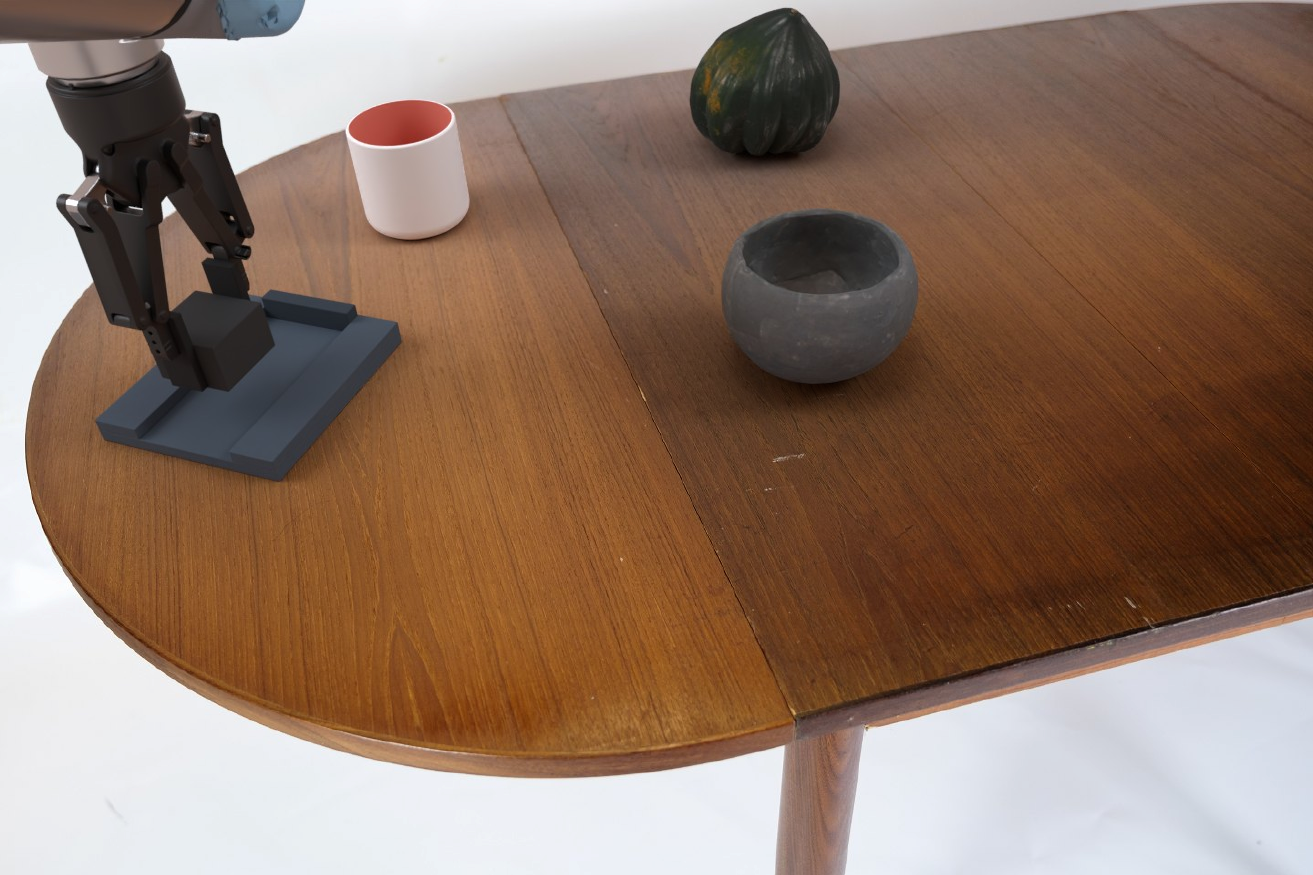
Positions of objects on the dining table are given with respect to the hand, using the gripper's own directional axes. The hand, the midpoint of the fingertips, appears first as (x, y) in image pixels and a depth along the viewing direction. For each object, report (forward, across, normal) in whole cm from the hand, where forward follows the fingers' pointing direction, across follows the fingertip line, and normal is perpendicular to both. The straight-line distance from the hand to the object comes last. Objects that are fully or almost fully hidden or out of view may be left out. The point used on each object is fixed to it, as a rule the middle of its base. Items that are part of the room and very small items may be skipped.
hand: (218, 358), depth 85 cm
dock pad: (+5, +3, 0) cm, 6 cm away
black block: (0, 0, 0) cm, 0 cm away
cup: (+5, +30, 0) cm, 31 cm away
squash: (+5, +54, -28) cm, 61 cm away
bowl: (+5, +19, -42) cm, 46 cm away
